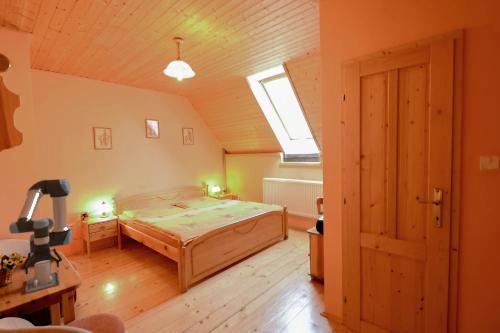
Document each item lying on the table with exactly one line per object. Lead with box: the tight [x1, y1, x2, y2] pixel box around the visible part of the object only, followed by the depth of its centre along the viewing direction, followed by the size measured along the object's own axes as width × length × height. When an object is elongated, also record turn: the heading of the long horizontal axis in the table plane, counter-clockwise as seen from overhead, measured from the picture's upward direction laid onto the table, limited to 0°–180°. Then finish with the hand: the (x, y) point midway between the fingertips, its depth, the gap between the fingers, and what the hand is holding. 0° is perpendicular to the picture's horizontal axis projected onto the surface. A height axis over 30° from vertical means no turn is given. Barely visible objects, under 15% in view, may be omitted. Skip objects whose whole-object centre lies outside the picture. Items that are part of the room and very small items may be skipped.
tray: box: [24, 269, 60, 295], centre depth 159 cm, size 22×16×5 cm
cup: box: [33, 260, 52, 284], centre depth 159 cm, size 8×8×12 cm
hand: (43, 275), depth 159 cm, fingers open, 13 cm apart
